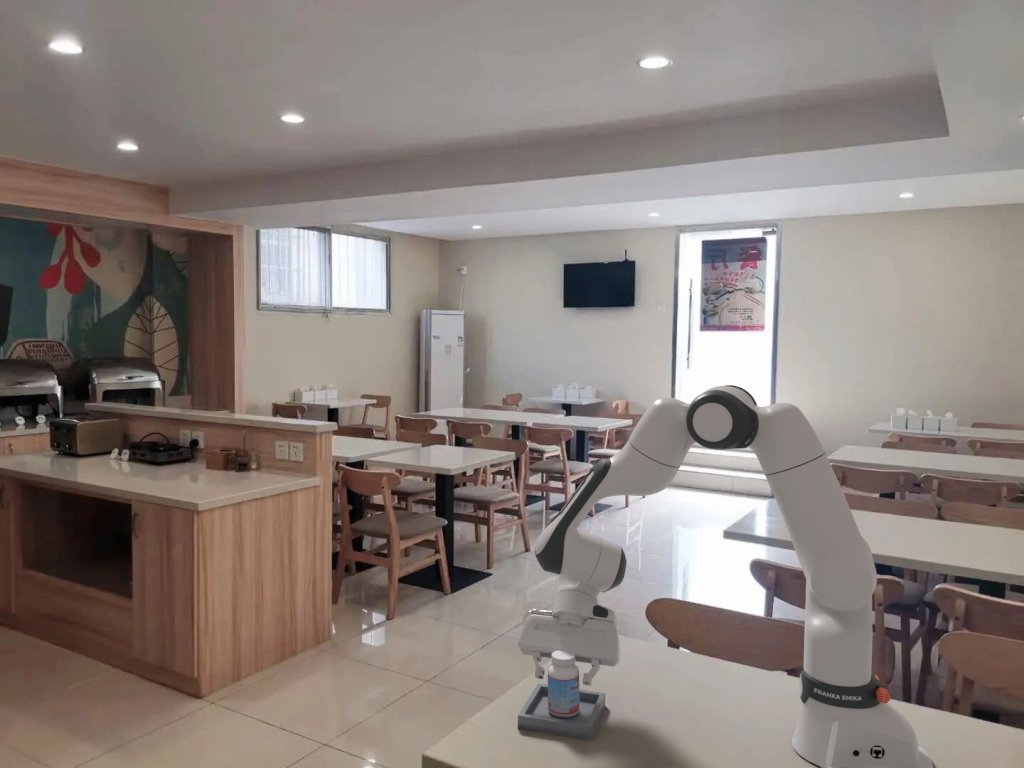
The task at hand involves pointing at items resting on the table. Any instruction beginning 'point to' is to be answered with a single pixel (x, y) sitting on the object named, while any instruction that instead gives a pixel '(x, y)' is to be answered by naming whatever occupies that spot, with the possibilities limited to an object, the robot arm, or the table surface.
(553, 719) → the tray
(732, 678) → the table surface
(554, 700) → the pill bottle
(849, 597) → the robot arm
